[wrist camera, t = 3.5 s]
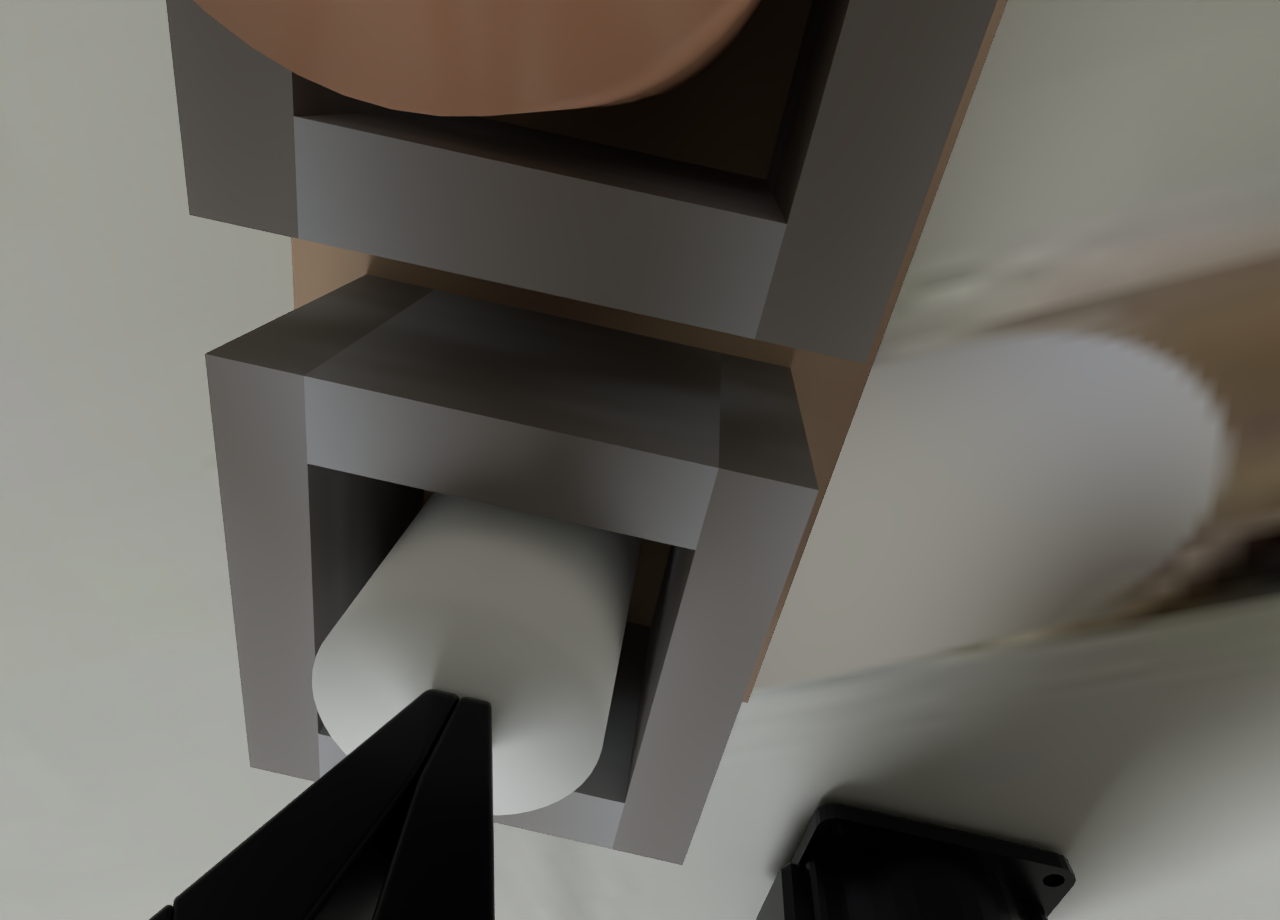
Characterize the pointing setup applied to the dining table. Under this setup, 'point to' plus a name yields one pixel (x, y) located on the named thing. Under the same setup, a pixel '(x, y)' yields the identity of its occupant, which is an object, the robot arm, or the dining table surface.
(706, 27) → the terracotta plunger
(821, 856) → the robot arm
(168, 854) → the dining table surface
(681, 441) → the double box holder
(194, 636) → the dining table surface
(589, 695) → the white short rounded cylinder
